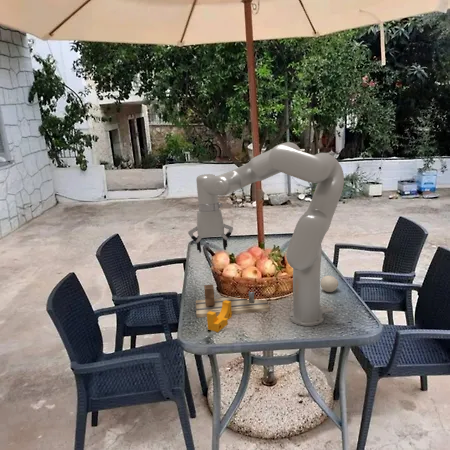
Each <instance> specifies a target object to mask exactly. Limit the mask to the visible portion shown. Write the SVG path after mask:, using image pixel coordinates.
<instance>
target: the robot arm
mask: <svg viewBox="0 0 450 450" xmlns="http://www.w3.org/2000/svg"><path fill="white" fill-rule="evenodd" d="M280 173H283V174H285V175H287V176H290V177H293V178H296V179H299V180H302V181H304V182H308V183H311V184H317V185H316V187H315V190H314V192H313V194H312V198H311V201H310V203H309V206H308V208H307V210H306V211H305V212H304V213H303V214H302V215H301V217H300V218H299V220H297V223H296V225H295V228H294V230H293V234H292V236H291V238H290V241H289V244H288V246H287V249H286V253H285V254H286V255H285V257H286V263H287V264H288V265H289V266H290V268H292V301H293V302H292V303H293V304H292V305H293V306H292V308H293V309H292V310H291V311H290V312H289V313H288V317H289V320H290V321H291V322H292V323H294V324H296V325H297V326H304V327H313V326H316V325H317V326H318V325H320V324H322V323H323V322H324V320H325V315H326V314H333V313H334V308H333V307H328V305H321V265H322V264H321V263H322V254H323V253H322V252H323V249H322V248H323V247H322V243H323V240H324V238H325V236H326V234H327V232H328V231H329V229H330V227H331V224H332V220H333V218H334V216H335V211H336V209H337V207H338V204H339V202H340V201H339V200H340V199H341V196H342V193H343V189H344V186H345V177H344V170H343V168H342V165H341V164H340V162H339V161H338V160H337V158H335V156H333V155H332V154H329V153H327V152H319V153H316V154H312V153H308V152H305V151H301V149H300V147H299V146H298V145H297V144H296V143H294V142H289V141H287V142H284V143H280V144H277V145H275V146H274V147H273V148H271V149H269V150H267V151H265V152H262V153H260V154H258V155H256V156H254V157H252V158H251V159H250V160H249V162H247V163H245V164H243V165H241V166H239V167H237V168H235V169H232V170H231V171H230V170H229V171H228V172H225V173H222V174H220V175H215V174H213V173H208V174H207V173H206V174H205V173H204V174H199V175H197V177H196V182H195V183H196V190H197V200H198V201H197V202H198V203H197V204H198V210H197V211H196V226H195V227H193V228H191V229H190V230H188V232H187V234H188V235H189V237H190V238H191V239H192V240H193V241H194V242H195V243H196V250H197V251H198V252H199V254H200V253H202V244H201V240H202V239H204V238H205V239H206V238H215V237H222V245H223V246H222V247H223V250H224V251H227V248H228V239H229V237H230V236H232V233H233V231H234V228H233V226H231V225H229V224H227V223H226V224H225V223H224V218H223V212H222V209H221V208H222V207H223V202H219V196H220V197H221V196H224V197H225V196H228V195H229V194H231V193H234V192H236V191H238V190H240V189H242V188H243V189H244V187H246V186H249V185H250V184H251V185H252V184H253V183H256V182H261V181H264V180H266V179H269V178H271V177H273V176H276V175H278V174H280ZM225 229H227V232H226V233H225ZM195 232H197V236H195V235H194V233H195Z"/></svg>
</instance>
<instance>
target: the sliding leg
mask: <svg viewBox="0 0 450 450" xmlns="http://www.w3.org/2000/svg"><path fill="white" fill-rule="evenodd" d="M203 286H204V289H203V290H204V300H205V303H206V306H213V305H215V300H214V299H215V289H214V284H204V285H203Z"/></svg>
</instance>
